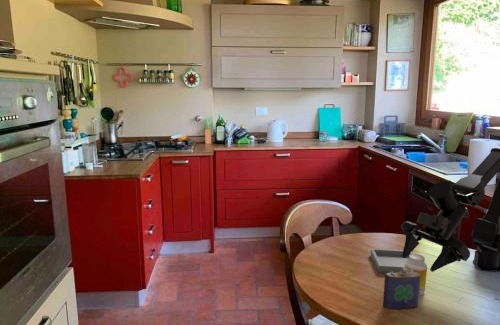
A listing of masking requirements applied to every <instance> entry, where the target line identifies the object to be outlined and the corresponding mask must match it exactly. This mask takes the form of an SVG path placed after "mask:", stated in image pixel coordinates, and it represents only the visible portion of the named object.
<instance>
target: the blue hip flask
mask: <svg viewBox="0 0 500 325" xmlns="http://www.w3.org/2000/svg"><path fill="white" fill-rule="evenodd" d="M402 269H403V270H402V271H400V272H399V273H397V272H395V273H393V272H390V273H386V274H384V286H383V301H382V307H383V309H385V310H391V311H402V310H404V311H405V310H415V309H417V308H418V306H419V297H420V295H419V289H420V279H421V275H420V274H419V273H416V272H411V273H407V269H406V268H404V267H402Z"/></svg>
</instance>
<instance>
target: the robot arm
mask: <svg viewBox="0 0 500 325" xmlns="http://www.w3.org/2000/svg"><path fill="white" fill-rule="evenodd" d="M499 171H500V146H497V145H496V146H493V147H492V148H491V149H490V151H489V154H487V156H486V157H485V158H484V159H483V160H482V161H481V163H479V165H478V166H477V167H476V168H475V169H474V170H473V172H472V173H471V174H469V175H467V176H464V177H462V178H460V179H459V180H457V181H456V182H455V183H454V184H453V183H452V181H451V180H448V179H443V180H442V182H441V181H440V182H437V183H434V184H433V185H432V186H430V187H429V188H428V191H427V192H428V196H429V197H430V198H431V200H432V201H433V204H434V205H435V206H436V208H437V209H439V210H440V211H439V212H438V213H437V214H435V213H433V215H430V214H427V213H425V212H421V211H420V213H419V215H418V217H417V220H416V222H415V223H414V222H413V221H412V222H411V221H409V220H407V221H404V222H403V223H402V224H401V226H400V229H401V230H402V233H404V235H405V241H404V247H403V249H402V250H403V254H402V257H403V258H406V257H407V256H408V255H409V254H410V253H411V252H412V253H413V251H414V250H415V249H416V248H417V247H418V246H419V245H420V242H419V241H422V239H423V240H426V241H428V242H431V243H433V244H436V245H439V246H440V247H441V252H440V253H439V255H438V256H437V258H435V260H434V262H433V263H432V265H431V267H430V268H429V270H430V272H435V271H437V270H439V269H442V268H443V267H446V266H447V265H450V264H452V263H455V262H461V261H464V262H467V261H468V259H469V258H470V256H471V251H470V249H469V248H468V246H467V244H465V242H464V241H463V240H460V239H457V238H454V237H451V236H452V234H454V235H456V234H457V232H458V230H457V229H456V228H457V227H458V226H459V224H460V223H461V222H462V220H463V219H464V218H466V219H469V218H470V213H469V208H467V207H465V205H467V206H471V207H476V206H477V205H479V203H480V202H481V201H482V200H483V198H484V196H485V194H486V191H485V190H486V189H485V188H486V187H487V185H488V184H489V183H490V181H492V179H493V178H494V177H495V176H496V175H497V173H498V172H499ZM418 224H420V225H422V229H423V230H425V231H423V230H422V229H421V228H420V226H419V225H418ZM471 241H472V242H471V243H472V245H473V246H475V247H477V248H476V250H475V251H474V255H473V256H474V257H473V260H472V263H473V264H474V265H475V266H476V267H477V268H479V269H480V271H483V272H484V271H486V272H500V176H499V178H498V181H497V183H496V186H495V188H494V191H493V194H492V197H491V200H490V203H489V205H488V208H487V211H486V214H485V215H483V217H482V218H479V217H478V218H477V219H476V220H475V222H474V225H473V228H472V230H471Z"/></svg>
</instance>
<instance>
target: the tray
mask: <svg viewBox="0 0 500 325" xmlns="http://www.w3.org/2000/svg"><path fill="white" fill-rule="evenodd" d="M402 254H403V249H384V248H370V258H371V260H372V262H373V264H374V266H375V269H376V271H377V273H378V274H381V275H383V274H384V275H385V274H386V273H390V272H393V273H395V272H397V273H399V272H400V271H402V270H403V269H402V267H404V268H405V262H406V261H408V260H409V255H410V254H414V253H413V251H412V252H411V253H410V254H409V255H408V256H407V257H406V258H403V257H402Z"/></svg>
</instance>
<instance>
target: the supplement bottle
mask: <svg viewBox="0 0 500 325" xmlns="http://www.w3.org/2000/svg"><path fill="white" fill-rule="evenodd" d="M425 258H426V257H425V256H423V255H422V254H419V253H413V254H410V255H409V260H408V261H406V262H405V268H406V269H407V273H411V272H416V273H419V274H420V275H421V279H420V289H419V296H421V295H424V294H425V290H426V284H427V283H426V280H427V270H428V265H427V264H426V263H425V262H426V261H425Z"/></svg>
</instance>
